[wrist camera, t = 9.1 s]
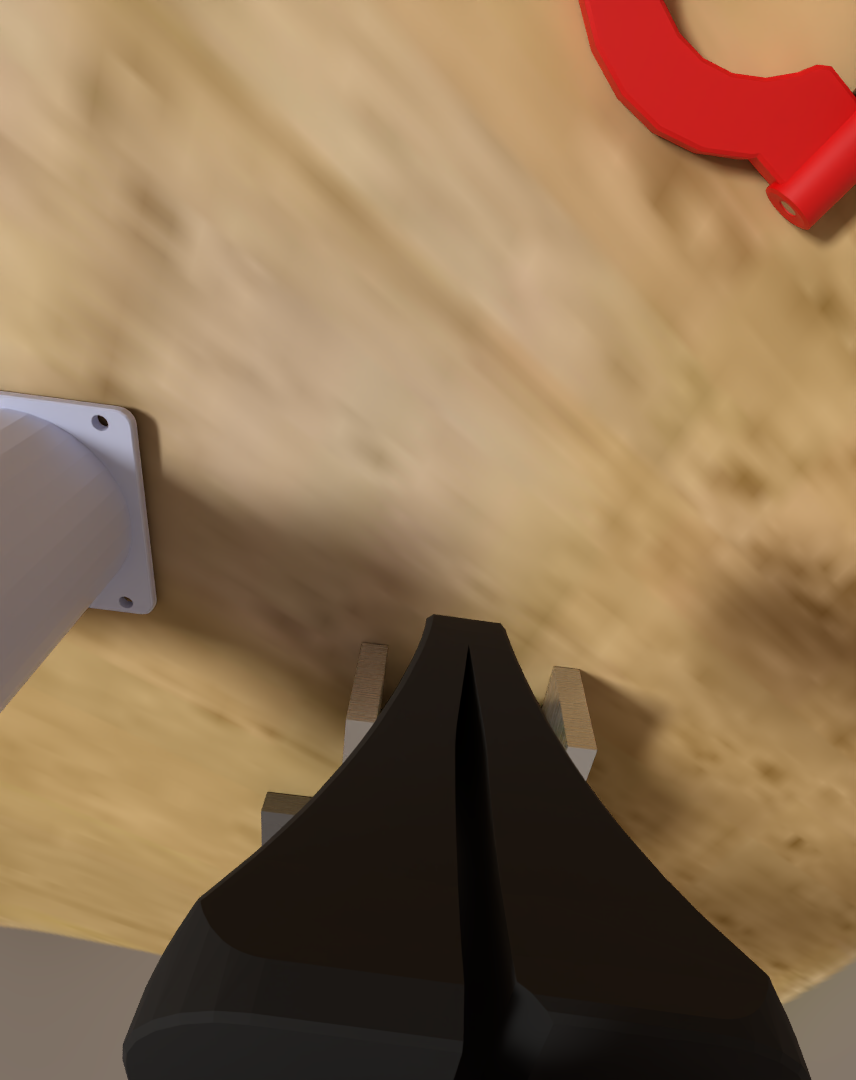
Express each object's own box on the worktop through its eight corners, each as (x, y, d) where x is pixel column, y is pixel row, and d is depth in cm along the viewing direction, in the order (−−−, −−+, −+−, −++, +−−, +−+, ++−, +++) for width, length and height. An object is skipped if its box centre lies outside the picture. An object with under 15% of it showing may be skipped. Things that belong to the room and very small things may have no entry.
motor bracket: (267, 870, 33) (229, 1007, 28) (265, 630, 25) (212, 758, 20) (579, 907, 33) (601, 1050, 28) (674, 681, 25) (730, 820, 20)
